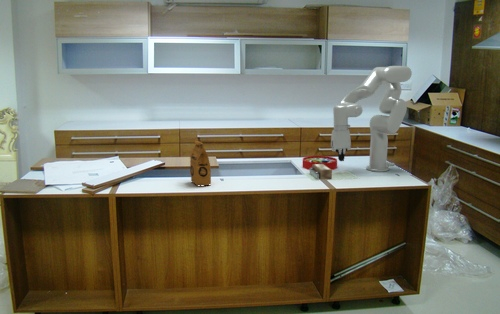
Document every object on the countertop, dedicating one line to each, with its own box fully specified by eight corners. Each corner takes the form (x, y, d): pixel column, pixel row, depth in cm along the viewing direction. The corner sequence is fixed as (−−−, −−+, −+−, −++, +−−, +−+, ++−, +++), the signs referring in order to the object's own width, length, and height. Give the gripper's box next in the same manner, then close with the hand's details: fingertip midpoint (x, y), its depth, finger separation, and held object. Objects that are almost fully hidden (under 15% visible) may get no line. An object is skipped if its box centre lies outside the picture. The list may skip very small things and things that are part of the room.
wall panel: (348, 173, 259) (348, 171, 259) (359, 180, 244) (359, 178, 244) (303, 175, 255) (303, 173, 255) (312, 182, 240) (312, 180, 239)
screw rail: (312, 173, 254) (312, 167, 253) (320, 179, 242) (320, 172, 241) (308, 173, 254) (308, 167, 253) (315, 179, 241) (315, 173, 240)
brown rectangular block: (322, 172, 256) (322, 163, 254) (331, 179, 242) (332, 169, 241) (312, 173, 254) (312, 164, 253) (320, 179, 241) (321, 170, 240)
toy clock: (300, 155, 279) (333, 155, 279) (300, 165, 280) (333, 165, 280) (304, 163, 259) (340, 163, 259) (304, 173, 260) (340, 173, 261)
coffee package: (194, 187, 231) (192, 144, 227) (189, 181, 243) (187, 140, 238) (213, 186, 234) (212, 143, 230) (207, 180, 246) (206, 139, 241)
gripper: (351, 125, 254) (351, 157, 258) (325, 128, 251) (326, 160, 255) (356, 127, 246) (357, 160, 251) (330, 130, 244) (330, 163, 248)
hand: (341, 160), depth 253 cm, fingers closed
